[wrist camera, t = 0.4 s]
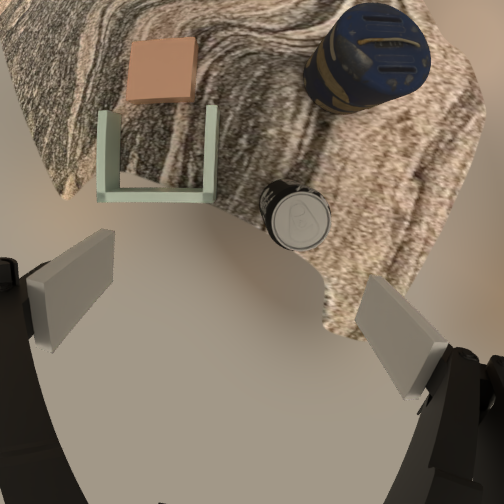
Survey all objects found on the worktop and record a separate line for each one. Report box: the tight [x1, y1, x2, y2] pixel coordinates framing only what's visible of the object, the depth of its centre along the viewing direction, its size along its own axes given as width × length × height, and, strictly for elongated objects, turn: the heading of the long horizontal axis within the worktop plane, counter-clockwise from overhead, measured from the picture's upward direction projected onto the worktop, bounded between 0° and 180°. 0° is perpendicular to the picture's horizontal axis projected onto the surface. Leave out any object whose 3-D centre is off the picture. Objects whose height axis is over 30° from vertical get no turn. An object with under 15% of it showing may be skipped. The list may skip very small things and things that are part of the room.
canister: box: [304, 3, 431, 115], centre depth 28 cm, size 10×10×18 cm
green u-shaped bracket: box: [96, 105, 220, 203], centre depth 36 cm, size 11×14×5 cm
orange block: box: [126, 37, 199, 105], centre depth 33 cm, size 8×8×4 cm
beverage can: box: [259, 179, 331, 251], centre depth 35 cm, size 7×7×12 cm
